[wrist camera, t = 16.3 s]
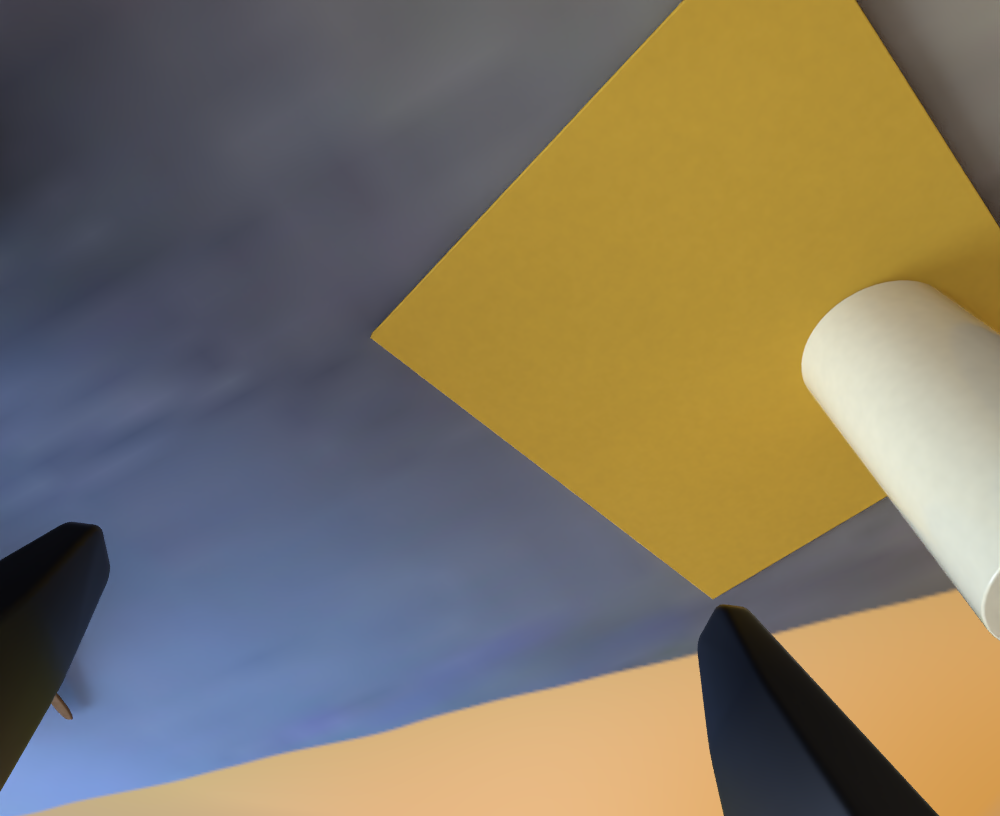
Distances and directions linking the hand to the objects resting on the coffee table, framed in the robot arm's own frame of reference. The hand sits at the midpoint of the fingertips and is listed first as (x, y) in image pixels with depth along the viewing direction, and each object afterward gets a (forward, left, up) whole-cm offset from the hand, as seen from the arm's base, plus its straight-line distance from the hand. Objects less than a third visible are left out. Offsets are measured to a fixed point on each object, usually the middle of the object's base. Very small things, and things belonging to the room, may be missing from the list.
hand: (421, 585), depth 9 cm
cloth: (+9, +4, -13) cm, 16 cm away
